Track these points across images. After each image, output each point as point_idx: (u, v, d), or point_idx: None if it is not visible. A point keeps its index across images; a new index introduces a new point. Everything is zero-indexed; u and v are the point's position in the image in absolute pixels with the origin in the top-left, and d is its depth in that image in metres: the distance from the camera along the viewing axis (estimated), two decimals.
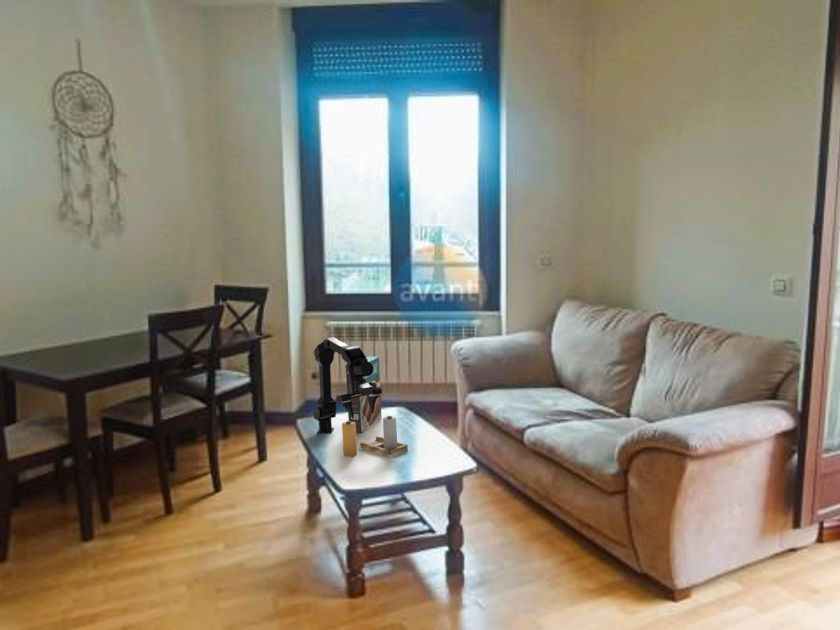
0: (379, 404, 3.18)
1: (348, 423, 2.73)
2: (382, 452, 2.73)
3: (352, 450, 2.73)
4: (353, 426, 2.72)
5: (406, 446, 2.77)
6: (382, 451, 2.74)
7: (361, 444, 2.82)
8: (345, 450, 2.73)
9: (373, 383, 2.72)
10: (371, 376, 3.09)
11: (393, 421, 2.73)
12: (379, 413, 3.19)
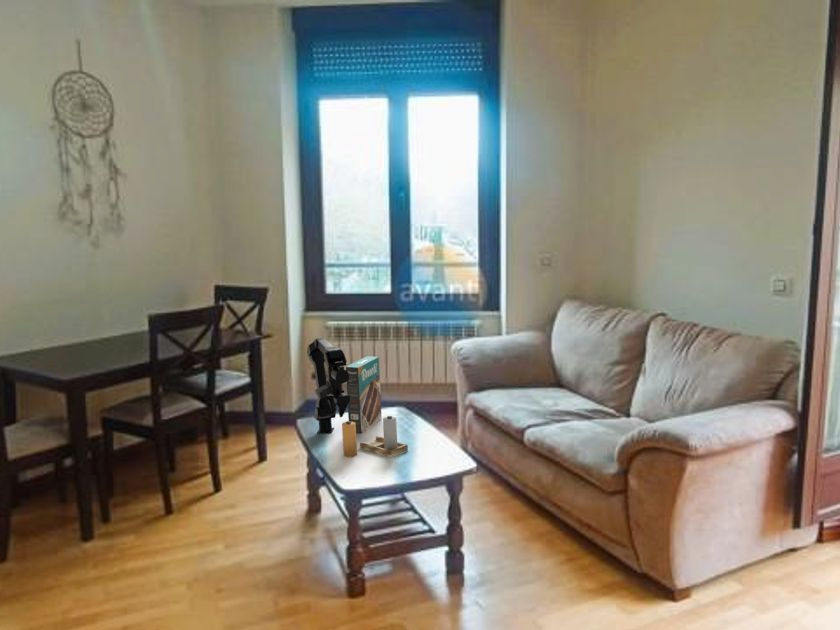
0: (379, 404, 3.18)
1: (348, 423, 2.73)
2: (382, 452, 2.73)
3: (352, 450, 2.73)
4: (353, 426, 2.72)
5: (406, 446, 2.77)
6: (382, 451, 2.74)
7: (361, 444, 2.82)
8: (345, 450, 2.73)
9: (321, 390, 2.78)
10: (371, 376, 3.09)
11: (393, 421, 2.73)
12: (379, 413, 3.19)
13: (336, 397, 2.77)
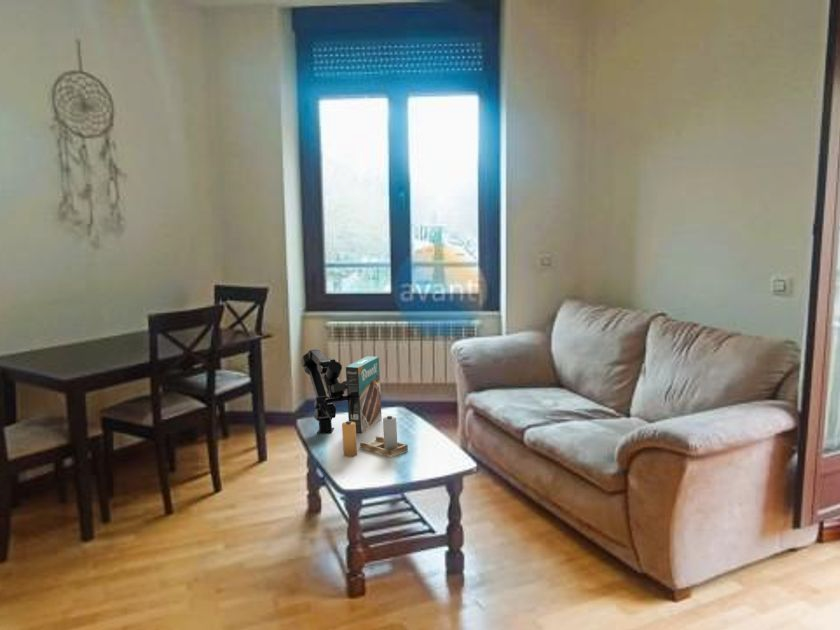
0: (379, 404, 3.18)
1: (348, 423, 2.73)
2: (382, 452, 2.73)
3: (352, 450, 2.73)
4: (353, 426, 2.72)
5: (406, 446, 2.77)
6: (382, 451, 2.74)
7: (361, 444, 2.82)
8: (345, 450, 2.73)
9: (345, 382, 2.83)
10: (371, 376, 3.09)
11: (393, 421, 2.73)
12: (379, 413, 3.19)
13: (354, 391, 2.87)
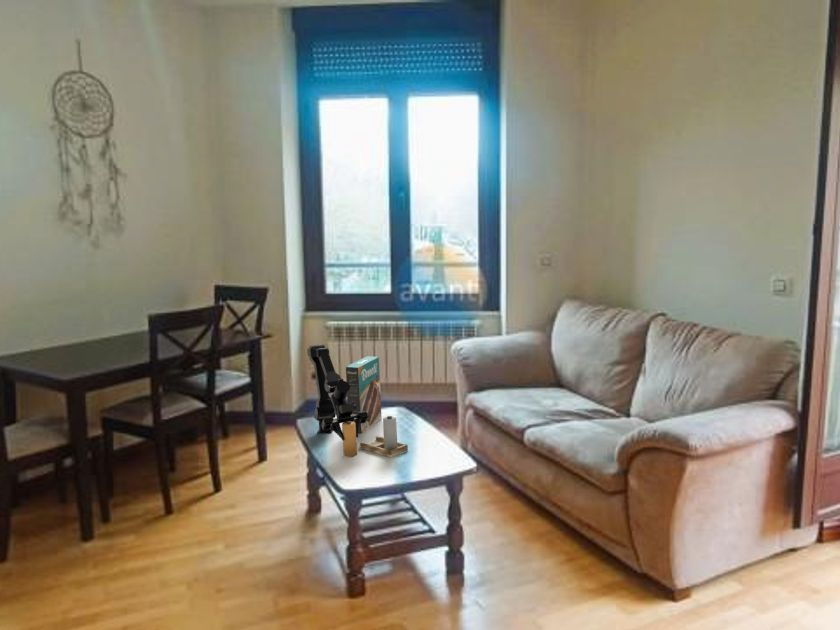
0: (379, 404, 3.18)
1: (348, 423, 2.73)
2: (382, 452, 2.73)
3: (352, 450, 2.73)
4: (353, 426, 2.72)
5: (406, 446, 2.77)
6: (382, 451, 2.74)
7: (361, 444, 2.82)
8: (345, 450, 2.73)
9: (354, 402, 2.76)
10: (371, 376, 3.09)
11: (393, 421, 2.73)
12: (379, 413, 3.19)
13: (363, 411, 2.79)
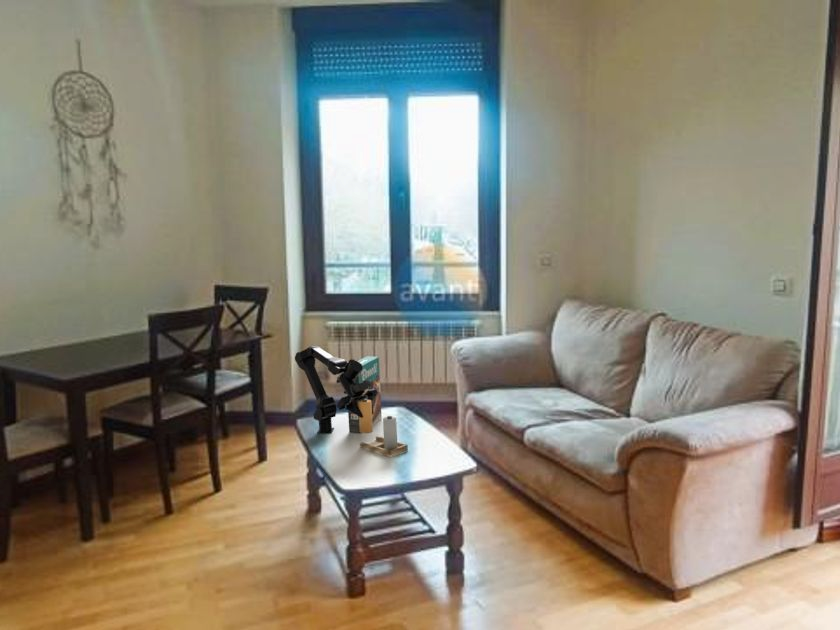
0: (379, 404, 3.18)
1: (365, 401, 2.81)
2: (382, 452, 2.73)
3: (370, 426, 2.82)
4: (370, 403, 2.82)
5: (406, 446, 2.77)
6: (382, 451, 2.74)
7: (361, 444, 2.82)
8: (363, 427, 2.82)
9: (367, 380, 2.85)
10: (371, 376, 3.09)
11: (393, 421, 2.73)
12: (379, 413, 3.19)
13: (373, 389, 2.90)
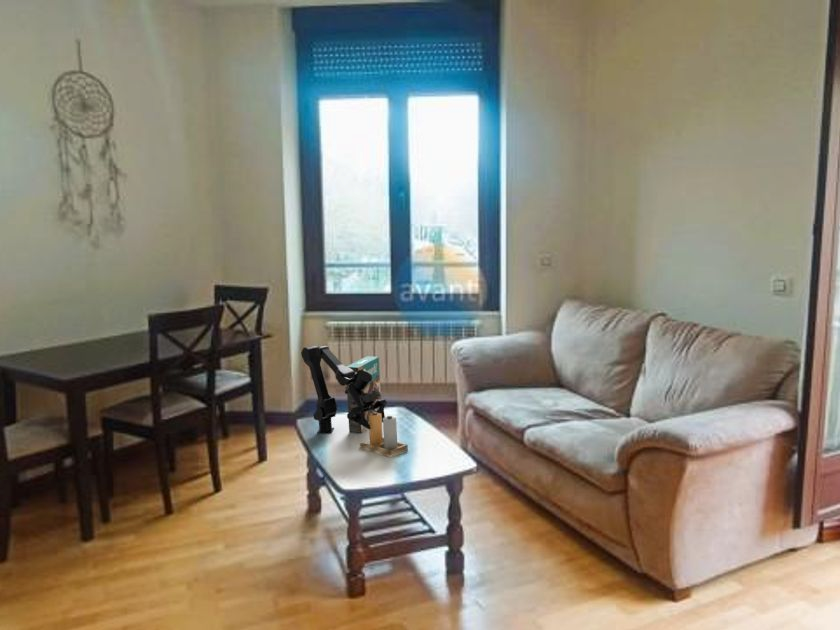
0: None
1: (375, 414, 2.80)
2: (382, 452, 2.73)
3: (380, 440, 2.81)
4: (381, 416, 2.80)
5: (406, 446, 2.77)
6: (382, 451, 2.74)
7: (361, 444, 2.82)
8: (373, 441, 2.80)
9: (376, 390, 2.83)
10: None
11: (393, 421, 2.73)
12: None
13: (382, 399, 2.88)
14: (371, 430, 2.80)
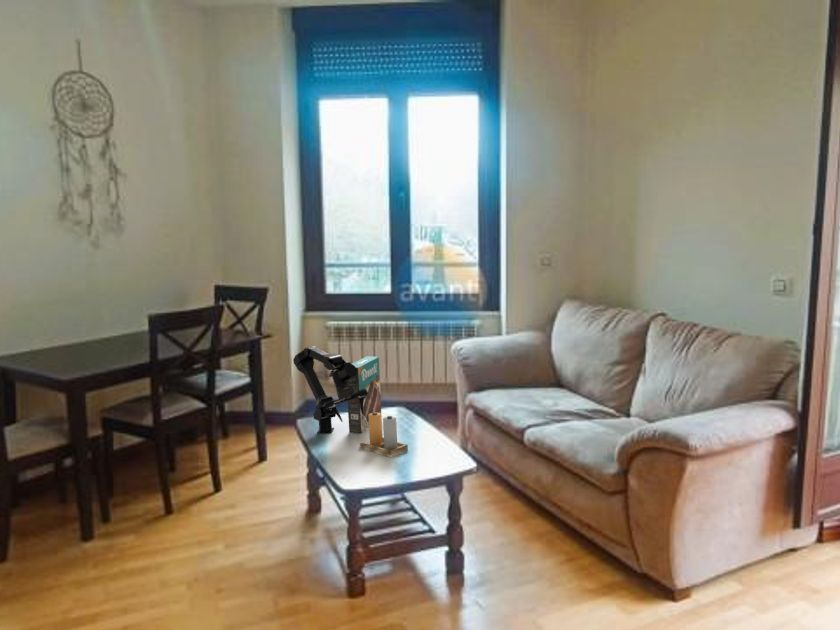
0: (379, 404, 3.18)
1: (375, 414, 2.80)
2: (382, 452, 2.73)
3: (380, 440, 2.81)
4: (381, 416, 2.80)
5: (406, 446, 2.77)
6: (382, 451, 2.74)
7: (361, 444, 2.82)
8: (373, 441, 2.80)
9: (350, 386, 2.84)
10: (371, 376, 3.09)
11: (393, 421, 2.73)
12: None
13: (362, 390, 2.89)
14: (371, 430, 2.80)
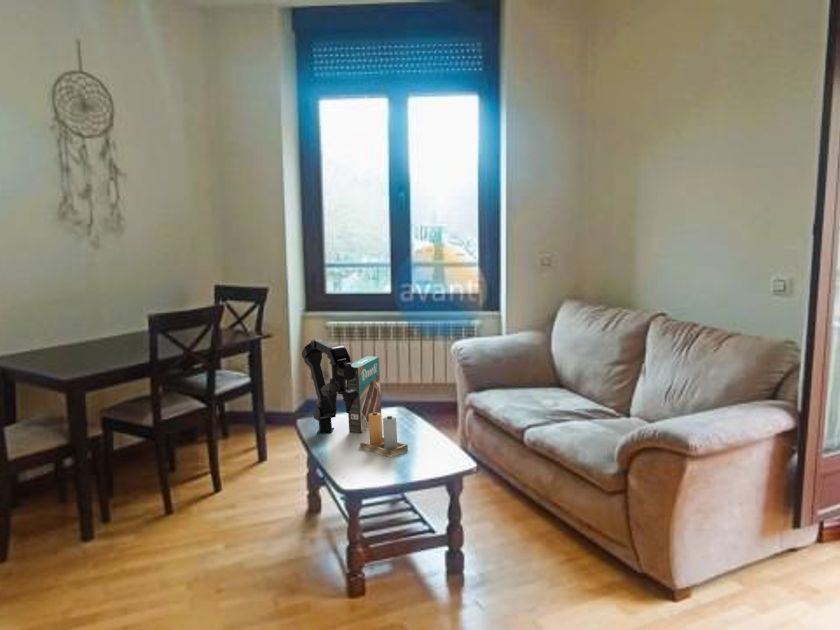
0: (379, 404, 3.18)
1: (375, 414, 2.80)
2: (382, 452, 2.73)
3: (380, 440, 2.81)
4: (381, 416, 2.80)
5: (406, 446, 2.77)
6: (382, 451, 2.74)
7: (361, 444, 2.82)
8: (373, 441, 2.80)
9: (331, 388, 2.81)
10: (371, 376, 3.09)
11: (393, 421, 2.73)
12: None
13: (346, 393, 2.82)
14: (371, 430, 2.80)
